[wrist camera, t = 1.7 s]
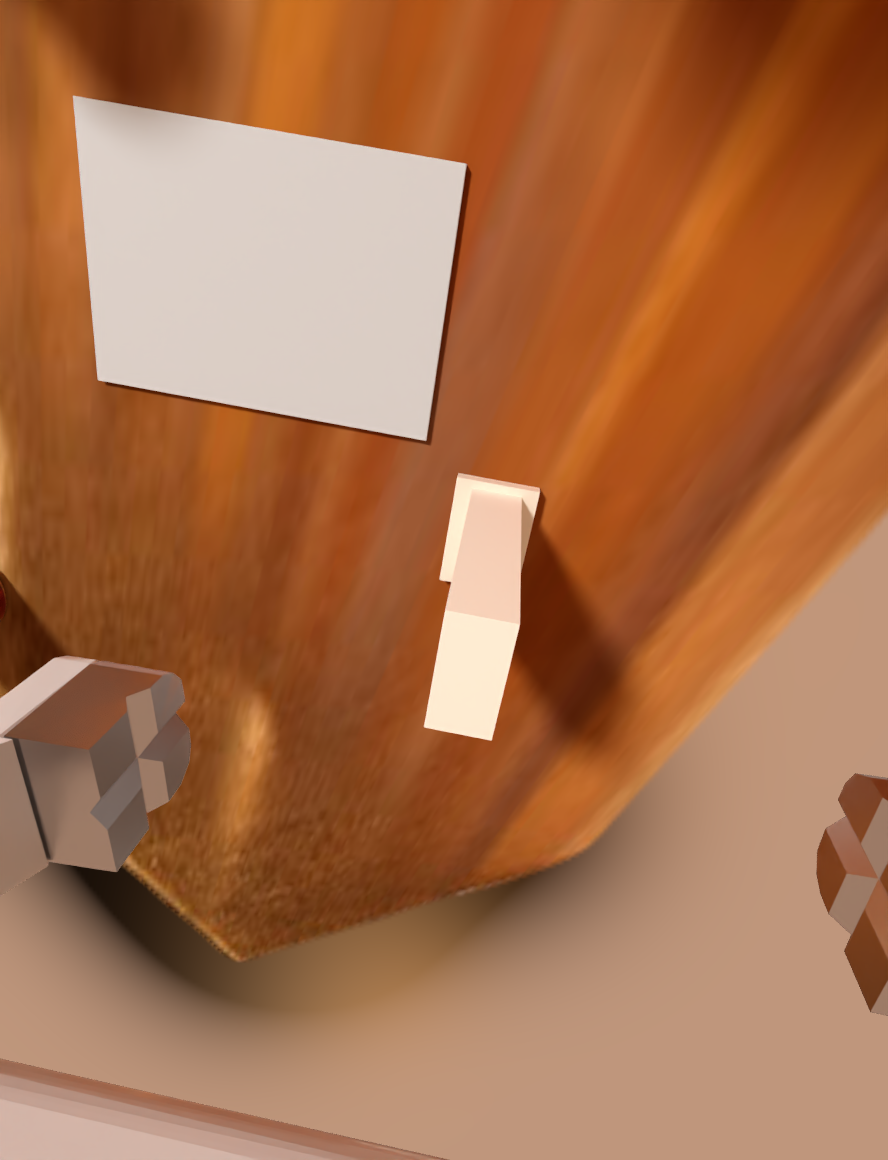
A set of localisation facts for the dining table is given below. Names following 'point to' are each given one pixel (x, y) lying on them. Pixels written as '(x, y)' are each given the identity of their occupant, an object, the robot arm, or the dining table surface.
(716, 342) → the dining table surface
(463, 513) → the menu stand
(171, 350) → the mat
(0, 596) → the soda can
